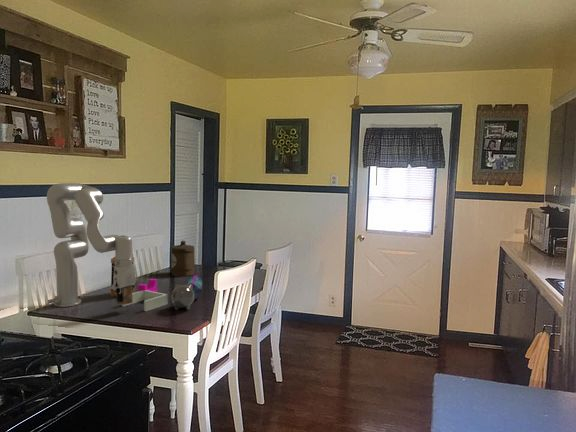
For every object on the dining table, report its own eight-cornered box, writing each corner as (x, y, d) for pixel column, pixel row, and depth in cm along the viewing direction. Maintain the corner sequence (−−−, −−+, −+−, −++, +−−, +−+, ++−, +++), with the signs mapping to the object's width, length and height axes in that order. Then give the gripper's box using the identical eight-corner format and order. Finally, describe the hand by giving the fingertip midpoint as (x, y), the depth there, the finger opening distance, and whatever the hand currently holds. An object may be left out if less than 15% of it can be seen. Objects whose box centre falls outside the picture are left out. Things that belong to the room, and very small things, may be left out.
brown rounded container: (172, 271, 323) (173, 239, 321) (195, 271, 325) (195, 239, 323) (169, 276, 308) (170, 242, 306) (193, 276, 310) (193, 242, 308)
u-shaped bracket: (145, 311, 232) (145, 301, 232) (121, 305, 240) (121, 296, 239) (167, 304, 245) (168, 294, 245) (144, 299, 253) (144, 289, 253)
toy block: (149, 300, 251) (149, 285, 251) (138, 299, 252) (138, 285, 252) (161, 292, 266) (161, 279, 265) (150, 292, 267) (150, 278, 266)
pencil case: (200, 301, 253) (201, 283, 252) (183, 301, 252) (183, 283, 251) (202, 291, 274) (202, 274, 273) (186, 291, 273) (186, 274, 272)
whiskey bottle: (119, 291, 268) (119, 234, 265) (135, 292, 266) (135, 235, 263) (109, 295, 258) (108, 236, 255) (125, 297, 256) (125, 237, 253)
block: (124, 304, 227) (124, 288, 226) (116, 303, 229) (116, 286, 228) (132, 302, 231) (132, 286, 230) (125, 301, 234) (124, 284, 233)
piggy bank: (195, 303, 247) (195, 281, 246) (193, 312, 232) (193, 289, 231) (172, 304, 246) (173, 281, 245) (169, 312, 231) (169, 289, 230)
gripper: (115, 266, 219) (115, 305, 221) (143, 260, 234) (143, 297, 236) (103, 264, 223) (104, 303, 224) (131, 259, 238) (132, 295, 239)
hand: (124, 299), depth 230 cm, fingers closed on block, 5 cm apart
